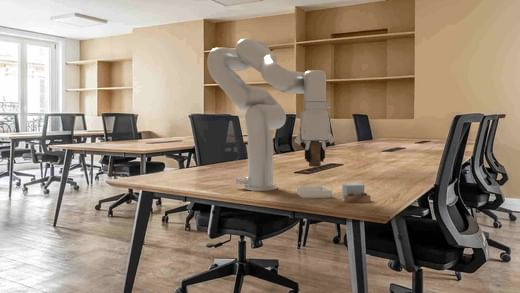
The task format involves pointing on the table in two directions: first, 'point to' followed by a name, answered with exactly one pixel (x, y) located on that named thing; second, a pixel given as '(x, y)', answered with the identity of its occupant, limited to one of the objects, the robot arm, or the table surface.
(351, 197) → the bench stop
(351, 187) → the pale blue block
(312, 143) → the dowel
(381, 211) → the table surface
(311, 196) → the tray
